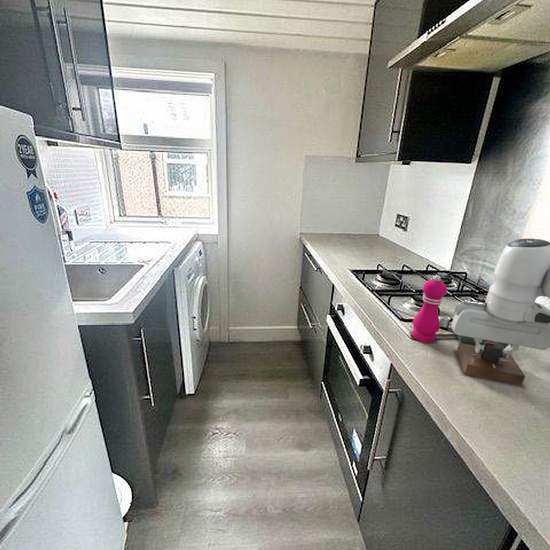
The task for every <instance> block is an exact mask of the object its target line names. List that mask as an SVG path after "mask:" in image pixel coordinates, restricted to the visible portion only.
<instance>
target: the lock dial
mask: <svg viewBox="0 0 550 550" xmlns="http://www.w3.org/2000/svg"><path fill="white" fill-rule="evenodd" d="M483 347H484V348H485V350H484V353H483V354H481V357H482V358H483V359H484V360H486V361H489V362H492V363H497V362H499V360H500V357H501V354H502V352H503V349H504V347H503V346H502V345H501V344H500V343H498V342H495V341H489V340H487V341H485V342H484V346H483Z"/></svg>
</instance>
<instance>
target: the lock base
mask: <svg viewBox="0 0 550 550" xmlns="http://www.w3.org/2000/svg"><path fill="white" fill-rule="evenodd" d="M475 347H476V345H474V344H468V343H463V342H458V345H457V348H456V355H457V357H458V360H459V363H460V366H461V368H462V371H463V373H464V375H465V376H470V377H475V378H481V379H485V380H489V381H495V382H499V383H504V384H509V385H513V386H518V387H522V385H523V383H524V380H525V378H526V375H525V374H524V371H522V369H521V367H520V366H519V364H518V363H517V361H516V360H515V358H514V356H513V355H512V353H511V354H510V355H509V357H508V359H506V358H501V357H500V360H499V362H497V363H492V362H489V361H486V360H484V359H483V358H482V357H481V354H479V353H476V352H475Z"/></svg>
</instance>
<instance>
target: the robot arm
mask: <svg viewBox="0 0 550 550" xmlns="http://www.w3.org/2000/svg"><path fill="white" fill-rule="evenodd" d="M540 297H543V298H544V297H545V298H548V299H549V300H550V241H549V240H546V239H540V238H519V239H515V240H512V241H510V242H509V243H507V244H506V245H505V247H504V248H503V250H502V252H501V254H500V256H499V258H498V261H497V263H496V267H495V269H494V272H493V282H492V284H491V285H490V287H489V289H488V291H487V294H486V299H485V302H483V301H473V300H469V299H465V300H463V301H459V302H458V303H457V304H456V306H455V310H454V313H455V314H454V316H453V318H452V321H451V325H450V327H451V330H452V332H453V333H454V335H456V336H457V335H461V336H467V337H472V338H474V340H475V343H476V345H475V346H476V347H475V352H476V353H479V354H483V353H484V350H485V348H484V347H483V345H480V344H479V342H482V340H483V339H484V340H489V341H495V342H501V343H506V344H509V346H507V347H506V348H505V349H503V352H502V354H501V358H506V359H508V357H509V355H510V354H511V355H512V353H514V352H516V351H517V350H518V349H519V347H524V348H530V349H535V350H541V351H545V350H547V349H549V348H550V309H549V308H548V307H546V306H545V305H543V304H542V303H539V302H537V301H536V300H537V299H538V298H540Z"/></svg>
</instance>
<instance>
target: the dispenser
mask: <svg viewBox="0 0 550 550" xmlns="http://www.w3.org/2000/svg"><path fill="white" fill-rule="evenodd" d="M456 336H457V339H458V341H459V342H458V343H462V344H467V345H473V346H476V343H475V340H474V338H472V337H467V336H461V335H456ZM485 341H487V340H484V339H483V340H482V342H479V344H480V345H483V346H484V342H485ZM498 343H500V344H501V345H502V346H503V347H504V349H505V348H506V347H507V346H509V344H506V343H501V342H498Z"/></svg>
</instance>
